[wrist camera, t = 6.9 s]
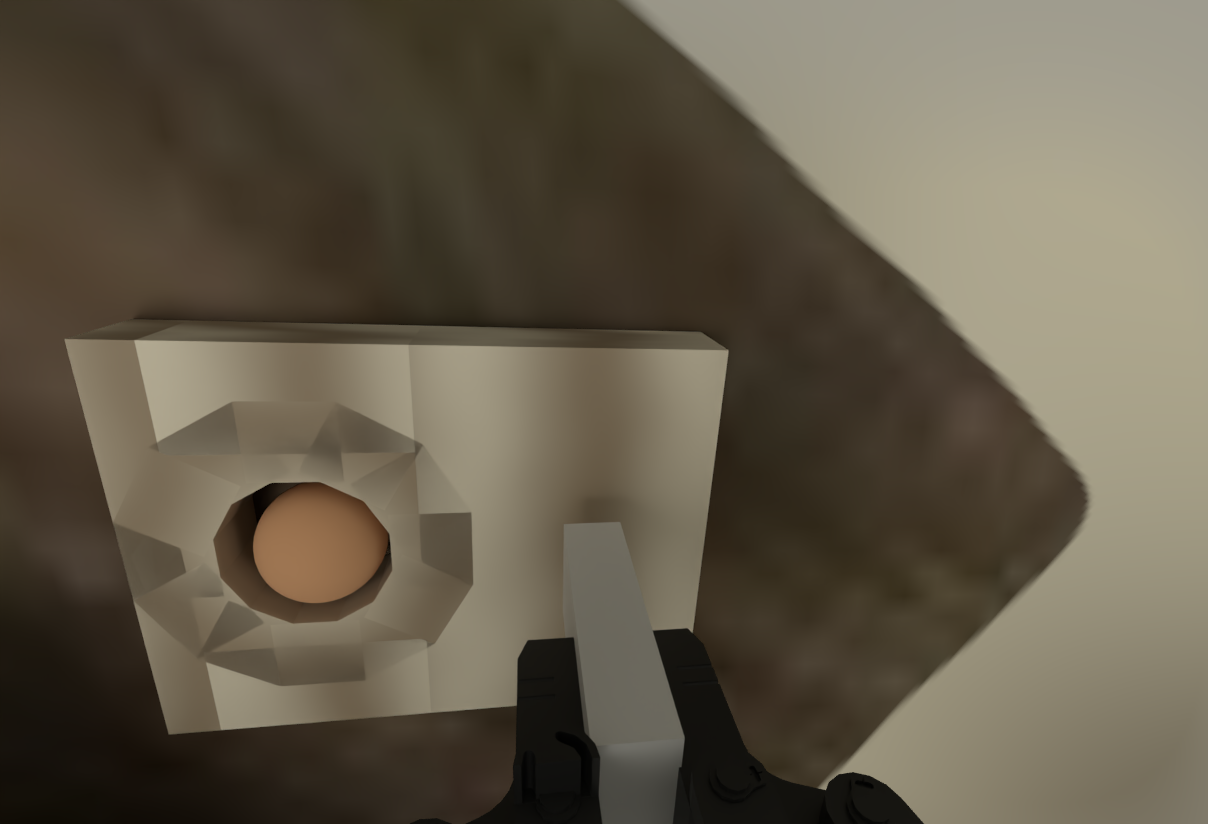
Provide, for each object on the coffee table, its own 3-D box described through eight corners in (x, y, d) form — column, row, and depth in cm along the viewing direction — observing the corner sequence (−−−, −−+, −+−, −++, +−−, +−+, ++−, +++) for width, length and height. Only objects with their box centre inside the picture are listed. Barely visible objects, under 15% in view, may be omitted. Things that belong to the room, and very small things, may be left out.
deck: (209, 670, 19) (168, 734, 17) (131, 319, 15) (64, 339, 13) (666, 640, 22) (685, 691, 20) (700, 331, 18) (728, 350, 16)
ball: (233, 614, 16) (340, 643, 15) (210, 503, 15) (325, 527, 14) (322, 548, 19) (415, 568, 18) (309, 452, 18) (408, 469, 17)
